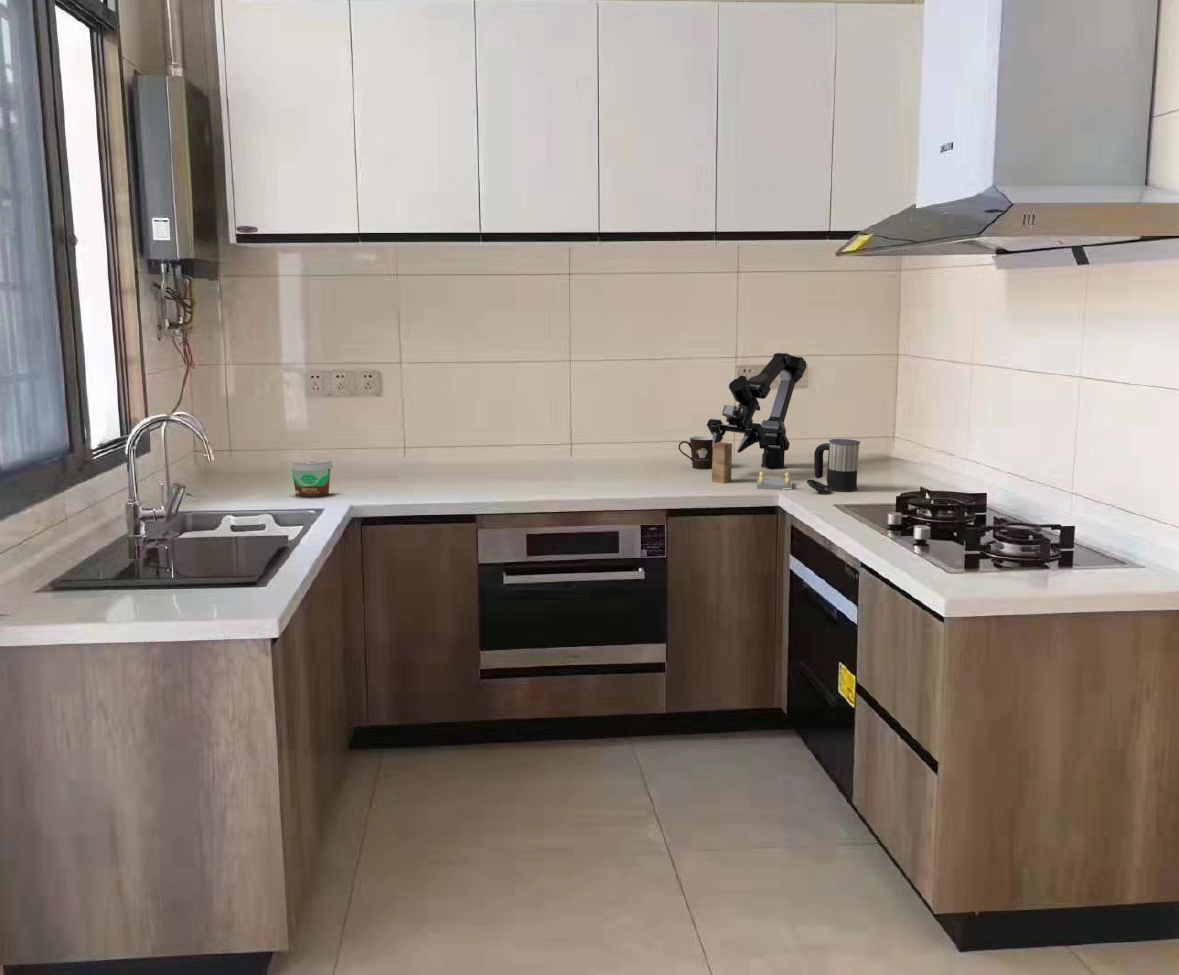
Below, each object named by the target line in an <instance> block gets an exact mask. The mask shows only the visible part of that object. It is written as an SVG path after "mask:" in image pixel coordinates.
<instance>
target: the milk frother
mask: <svg viewBox="0 0 1179 975" xmlns="http://www.w3.org/2000/svg"><path fill="white" fill-rule="evenodd" d="M828 442H829V443H828ZM828 442H825V443H824V442H823V443H821V444H819V445H818V446H816V448H815V449H814V456H813V457H814V458H813V459H814V460H813V462H814V464H813V465H814V466H813V467H814V468H813V469H814V477H815V479H821V478H823V476H824V452H825V451H828V455H827V470H826V484H824V483H822V482H819V481H817V480H814V479H807V480H806V484H807V485H808V486H809V487H810V488H812V489H813V490H815V491H816V492H818V494H822V493H825V494H827V493H828V494H829V493H831V491H835V492H843V493H845V492H846V493H847V492H848V493H849V492H850V493H851V492H855V491H857V490H858V465H859V453H860V452H859V451H860V444H861V441H860V440H856V439H849V438H847V439H846V438H831V439H829V440H828Z"/></svg>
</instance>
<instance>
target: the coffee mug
mask: <svg viewBox="0 0 1179 975" xmlns="http://www.w3.org/2000/svg"><path fill="white" fill-rule="evenodd" d="M712 440H713V436H707V435H701V436H700V435H699V436H697V435H696V436H691V437H689V441H686V440H684V441H680V442H679V444H678V450H679V451H680V453H681V454H682V455H683V456H685V457H687V458H688V459H689V460H690V461H691V464H692V469H695V470H712V460H713V449H712ZM683 444H687V445H688V447H689V448H690V453H691V454H690V455H691V456H690V455H688V454H686V453H685V452H684V451H683V450H682V449H681V445H683Z"/></svg>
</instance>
